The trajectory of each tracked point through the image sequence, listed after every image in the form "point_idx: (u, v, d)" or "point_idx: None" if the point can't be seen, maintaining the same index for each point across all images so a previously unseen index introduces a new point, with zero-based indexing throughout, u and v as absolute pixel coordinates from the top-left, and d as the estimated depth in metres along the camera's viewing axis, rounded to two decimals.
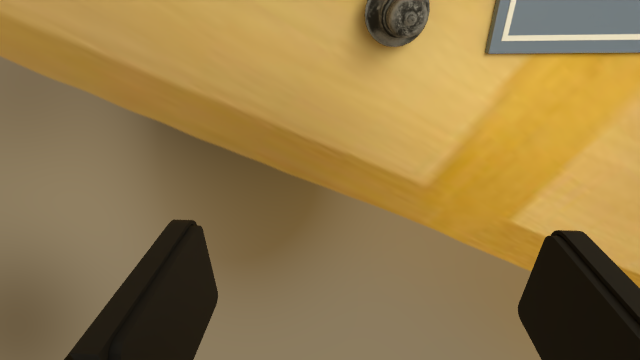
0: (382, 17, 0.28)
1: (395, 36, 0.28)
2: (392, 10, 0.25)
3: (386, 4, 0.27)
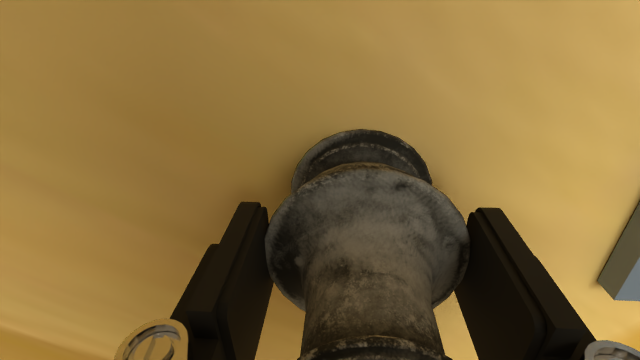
0: None
1: None
2: None
3: None
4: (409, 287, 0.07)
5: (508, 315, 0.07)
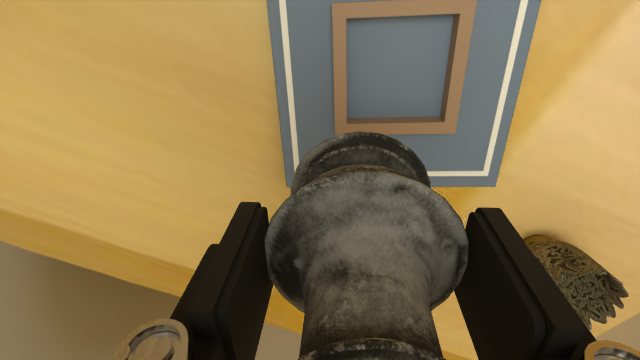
0: None
1: None
2: None
3: None
4: (407, 289, 0.07)
5: (508, 316, 0.07)
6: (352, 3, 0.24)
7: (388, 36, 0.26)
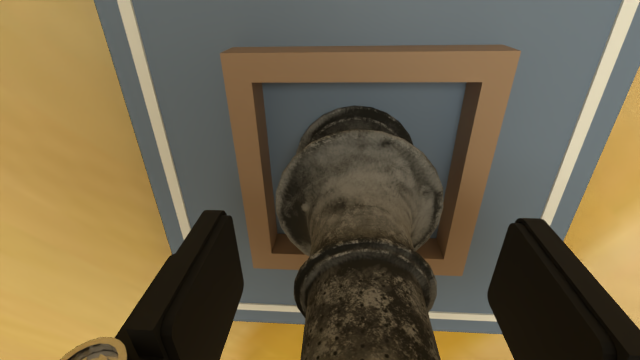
0: (298, 298, 0.09)
1: None
2: None
3: (306, 271, 0.08)
4: (391, 215, 0.09)
5: (565, 337, 0.07)
6: (261, 54, 0.11)
7: None
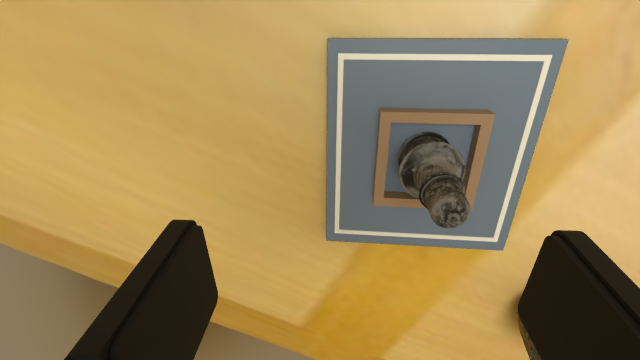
0: (420, 193, 0.27)
1: None
2: (434, 205, 0.24)
3: (425, 183, 0.27)
4: (448, 169, 0.28)
5: None
6: (396, 112, 0.30)
7: None
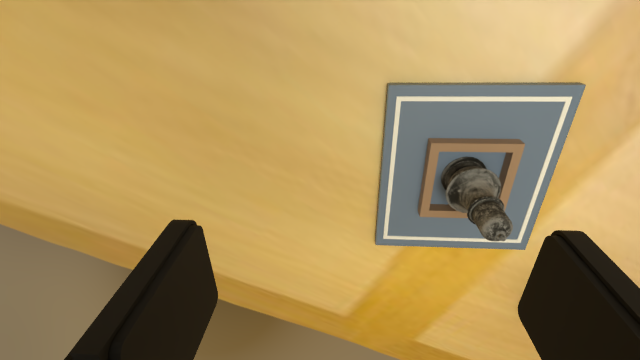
0: (468, 212, 0.34)
1: None
2: (484, 224, 0.31)
3: (473, 204, 0.33)
4: (490, 192, 0.35)
5: None
6: (444, 143, 0.37)
7: None
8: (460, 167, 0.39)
